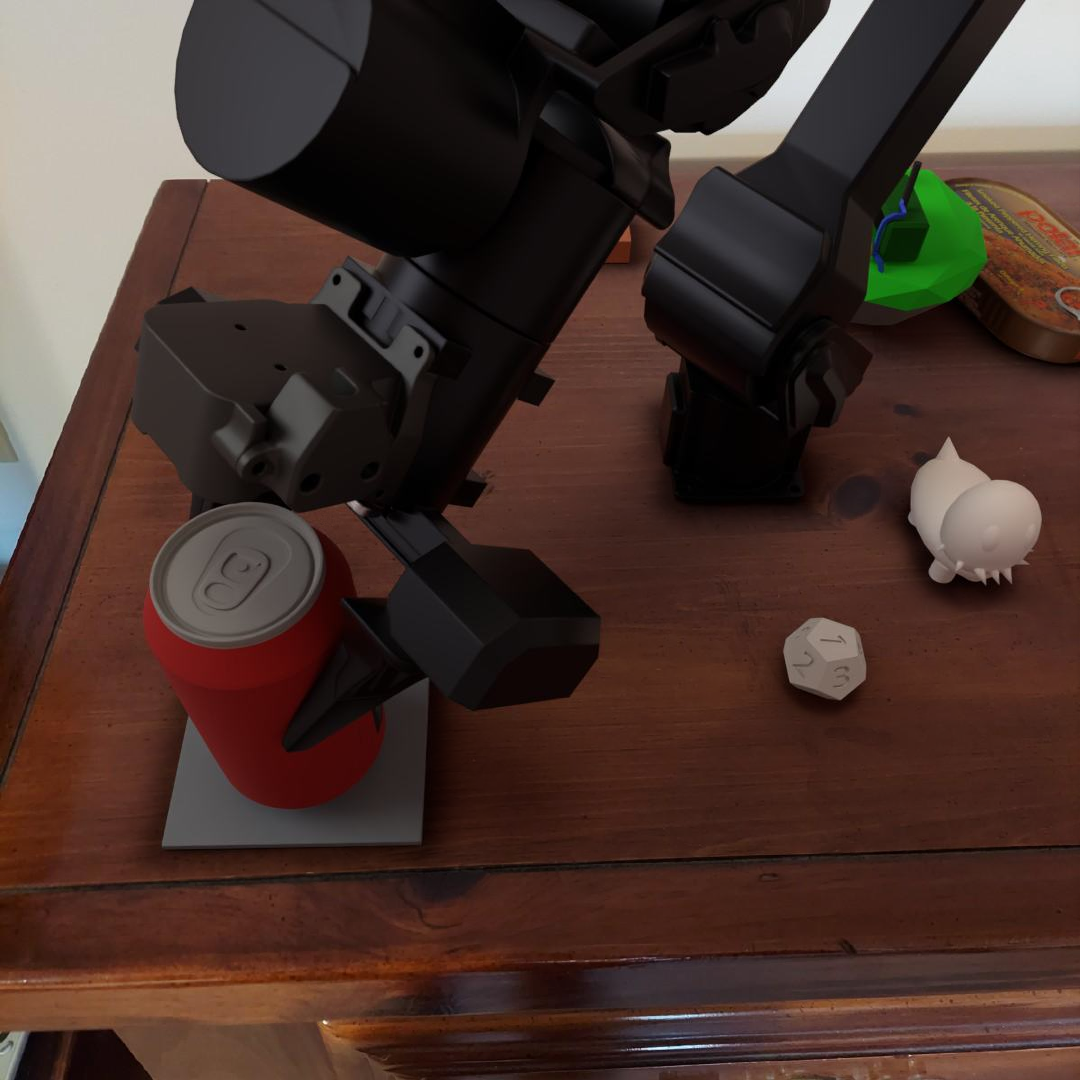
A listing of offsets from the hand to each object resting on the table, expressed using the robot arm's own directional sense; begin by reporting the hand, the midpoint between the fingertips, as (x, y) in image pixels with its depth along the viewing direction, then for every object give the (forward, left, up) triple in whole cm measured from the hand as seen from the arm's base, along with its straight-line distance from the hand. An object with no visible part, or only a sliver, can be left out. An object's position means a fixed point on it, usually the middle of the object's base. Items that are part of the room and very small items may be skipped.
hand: (238, 677), depth 35 cm
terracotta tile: (-15, -35, -8) cm, 39 cm away
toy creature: (-31, -11, -8) cm, 33 cm away
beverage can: (-1, -1, -7) cm, 7 cm away
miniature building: (-30, -29, -8) cm, 43 cm away
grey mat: (-1, -1, -8) cm, 8 cm away
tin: (-36, -29, -7) cm, 47 cm away
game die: (-23, -4, -8) cm, 25 cm away
